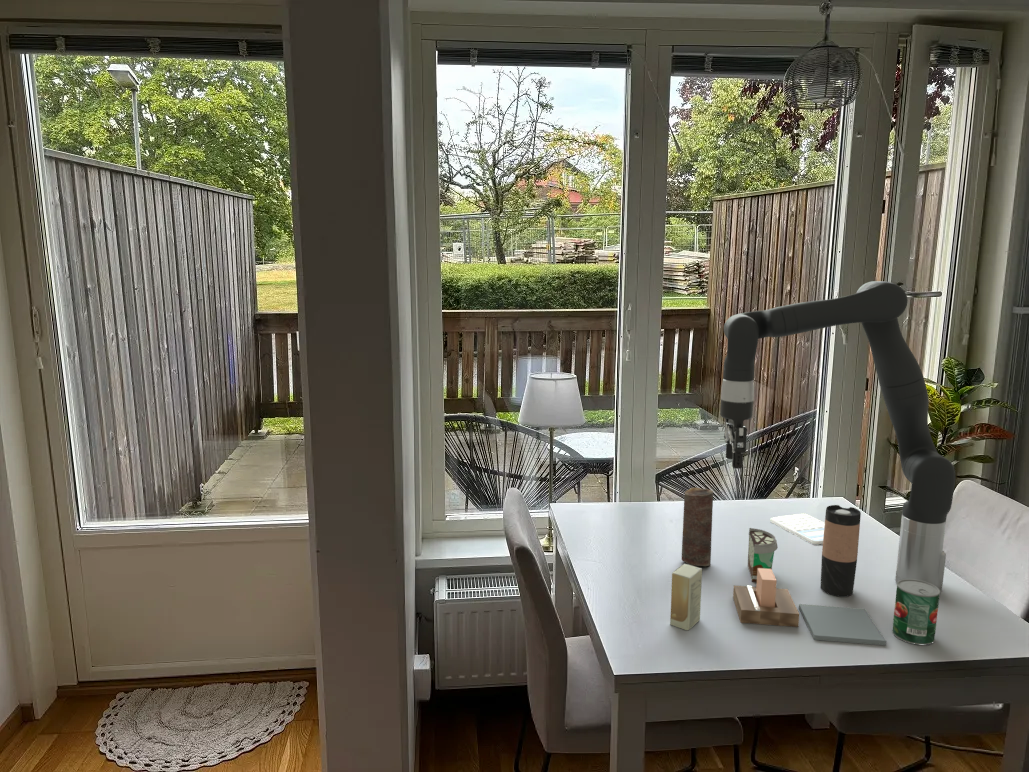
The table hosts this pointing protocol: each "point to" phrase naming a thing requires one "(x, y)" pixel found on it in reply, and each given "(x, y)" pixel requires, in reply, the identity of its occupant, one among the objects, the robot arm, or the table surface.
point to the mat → (841, 624)
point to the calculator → (802, 527)
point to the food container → (760, 551)
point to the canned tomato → (915, 611)
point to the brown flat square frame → (765, 608)
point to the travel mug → (840, 550)
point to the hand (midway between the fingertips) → (733, 463)
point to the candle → (697, 527)
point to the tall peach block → (765, 587)
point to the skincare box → (686, 596)
